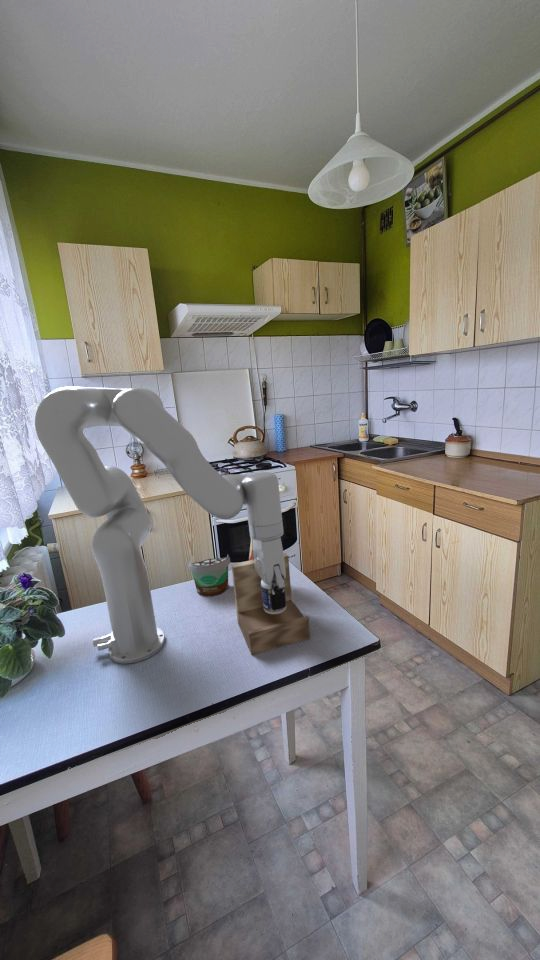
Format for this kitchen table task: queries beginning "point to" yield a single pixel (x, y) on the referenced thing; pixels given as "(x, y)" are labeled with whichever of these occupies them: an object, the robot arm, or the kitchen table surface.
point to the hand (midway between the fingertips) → (274, 600)
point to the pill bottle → (267, 600)
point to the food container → (211, 576)
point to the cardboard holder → (258, 624)
